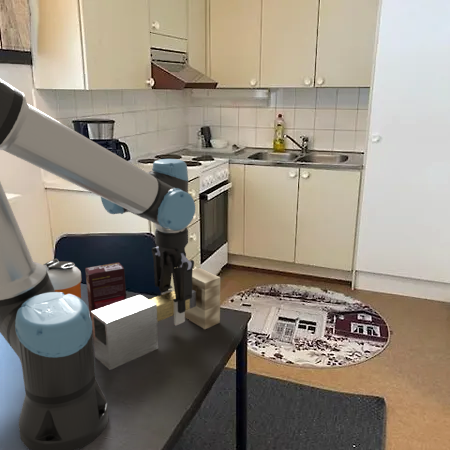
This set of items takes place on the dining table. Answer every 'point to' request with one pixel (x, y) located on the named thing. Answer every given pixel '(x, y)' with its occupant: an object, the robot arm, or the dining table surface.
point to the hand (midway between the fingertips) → (173, 319)
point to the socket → (205, 299)
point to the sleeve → (124, 331)
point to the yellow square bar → (170, 304)
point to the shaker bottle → (64, 277)
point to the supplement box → (105, 285)
